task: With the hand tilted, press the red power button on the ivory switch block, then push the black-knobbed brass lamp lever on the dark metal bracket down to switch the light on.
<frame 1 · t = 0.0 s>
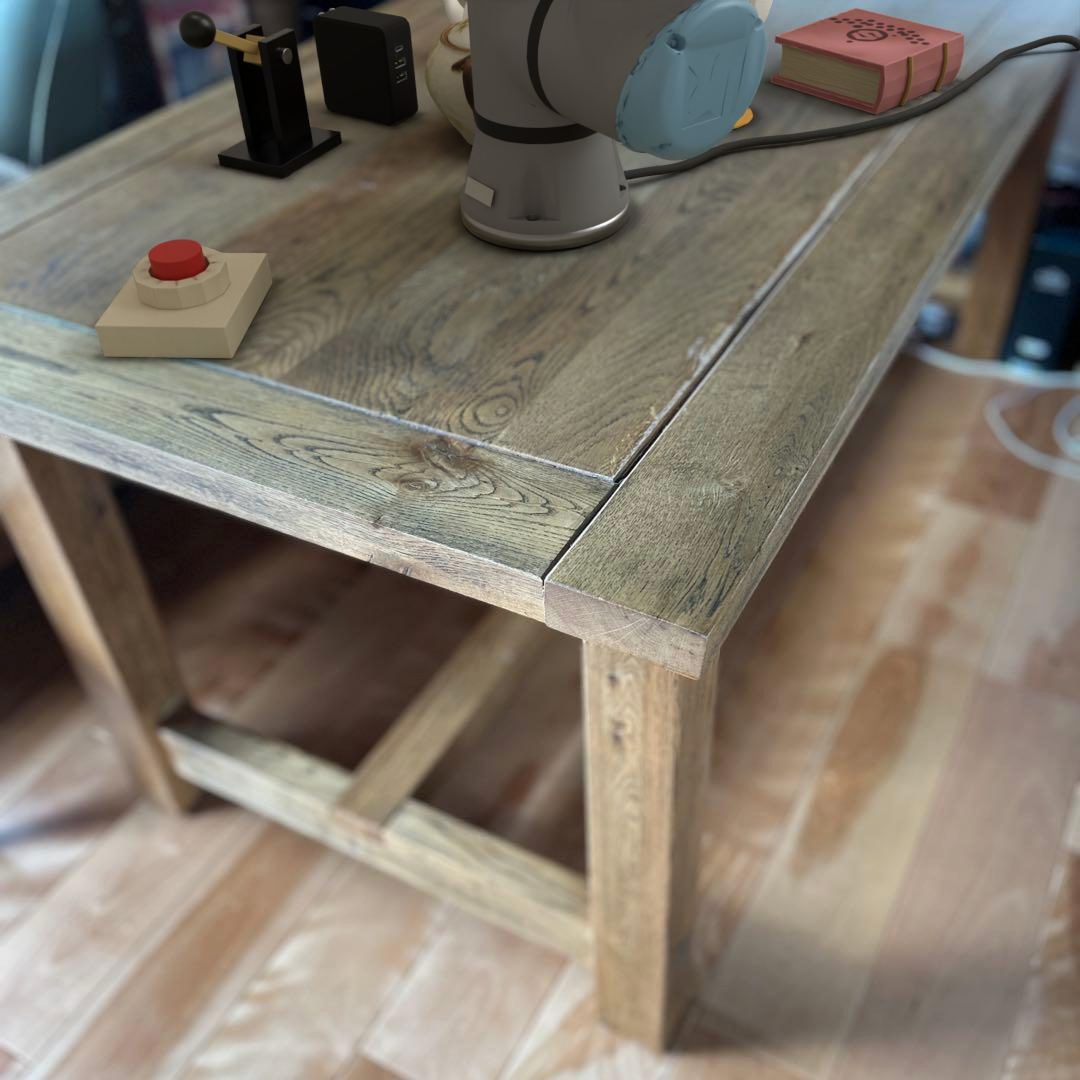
power block: (192, 318, 88), on the table
sugar bowl: (502, 137, 116), on the table
electronic device: (372, 114, 122), on the table
teapot: (513, 61, 134), on the table
power button: (177, 261, 85), point 5 cm above the table, slide at 0.1 cm
book: (864, 84, 125), on the table
lamp switch: (281, 154, 114), on the table
lamp lever: (230, 41, 103), point 12 cm above the table, hinge at 28.0°
cup: (709, 117, 118), on the table
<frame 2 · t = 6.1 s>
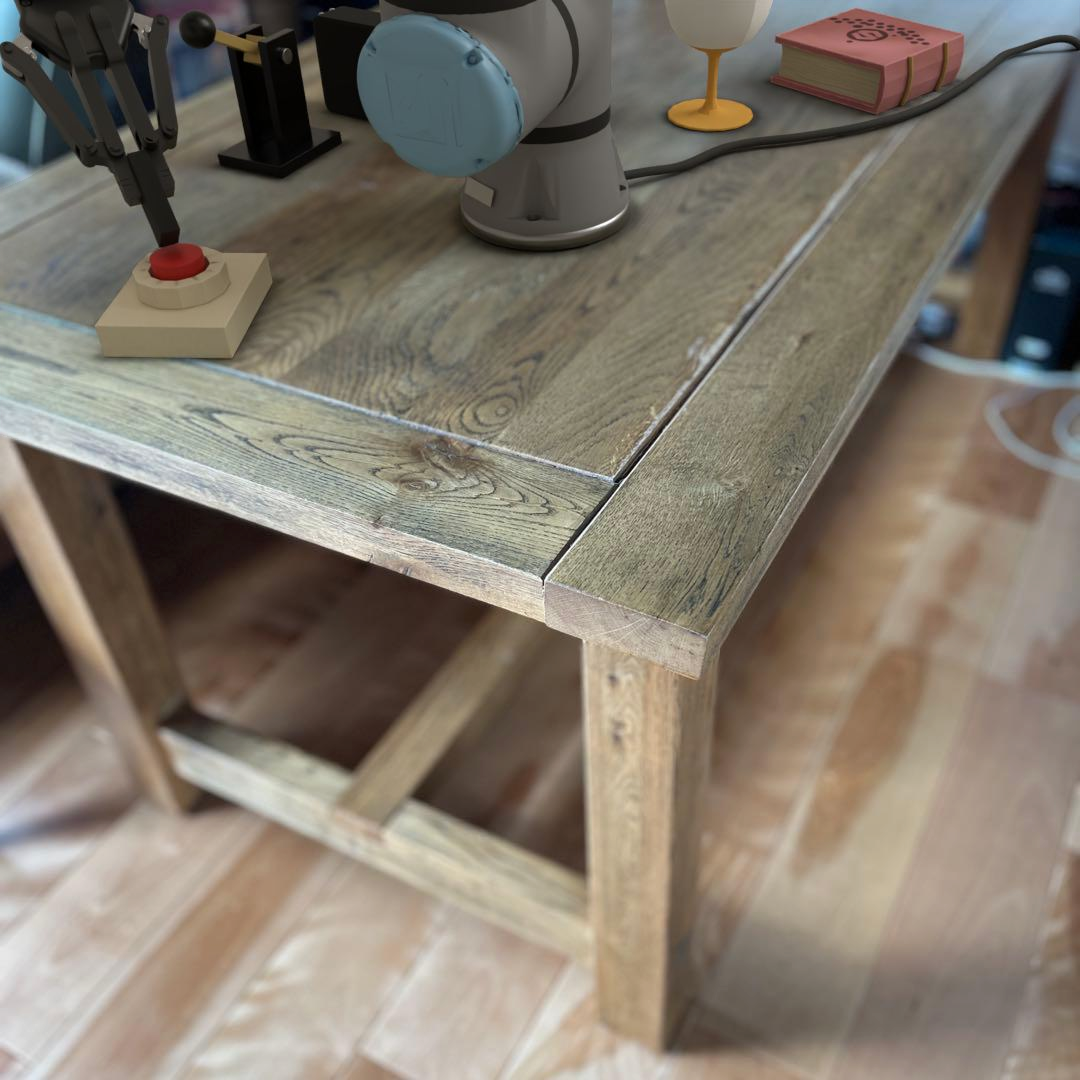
hand: (169, 238, 84), 7 cm above the table, tool tilted 45°, fingers closed
power button: (178, 265, 85), point 5 cm above the table, slide at -0.3 cm, touching gripper
everything else where it was.
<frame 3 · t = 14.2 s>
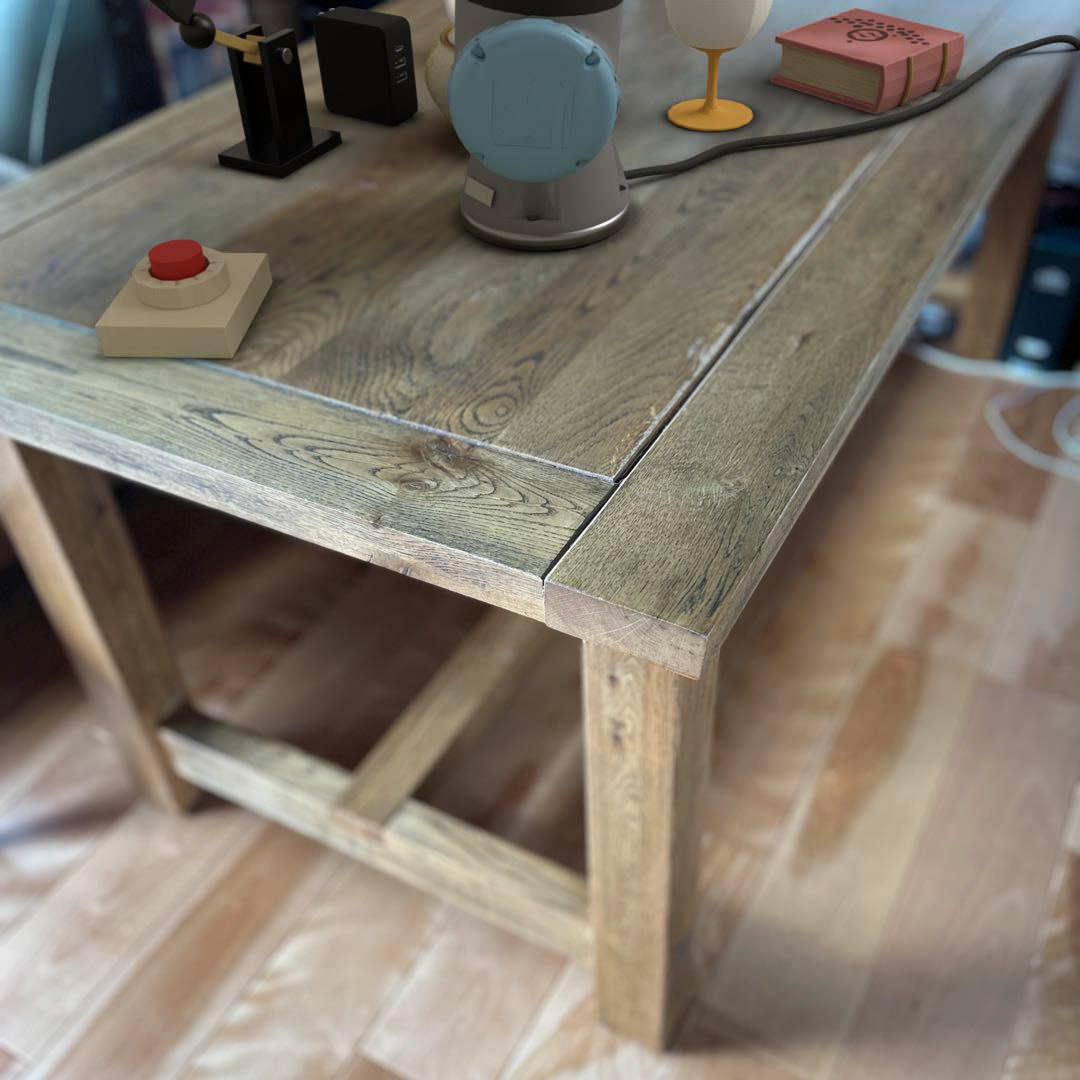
hand: (186, 8, 97), 16 cm above the table, tool tilted 45°, fingers closed
power button: (177, 261, 85), point 5 cm above the table, slide at 0.1 cm
lamp lever: (230, 41, 103), point 12 cm above the table, hinge at 27.7°, touching gripper
everything else where it was.
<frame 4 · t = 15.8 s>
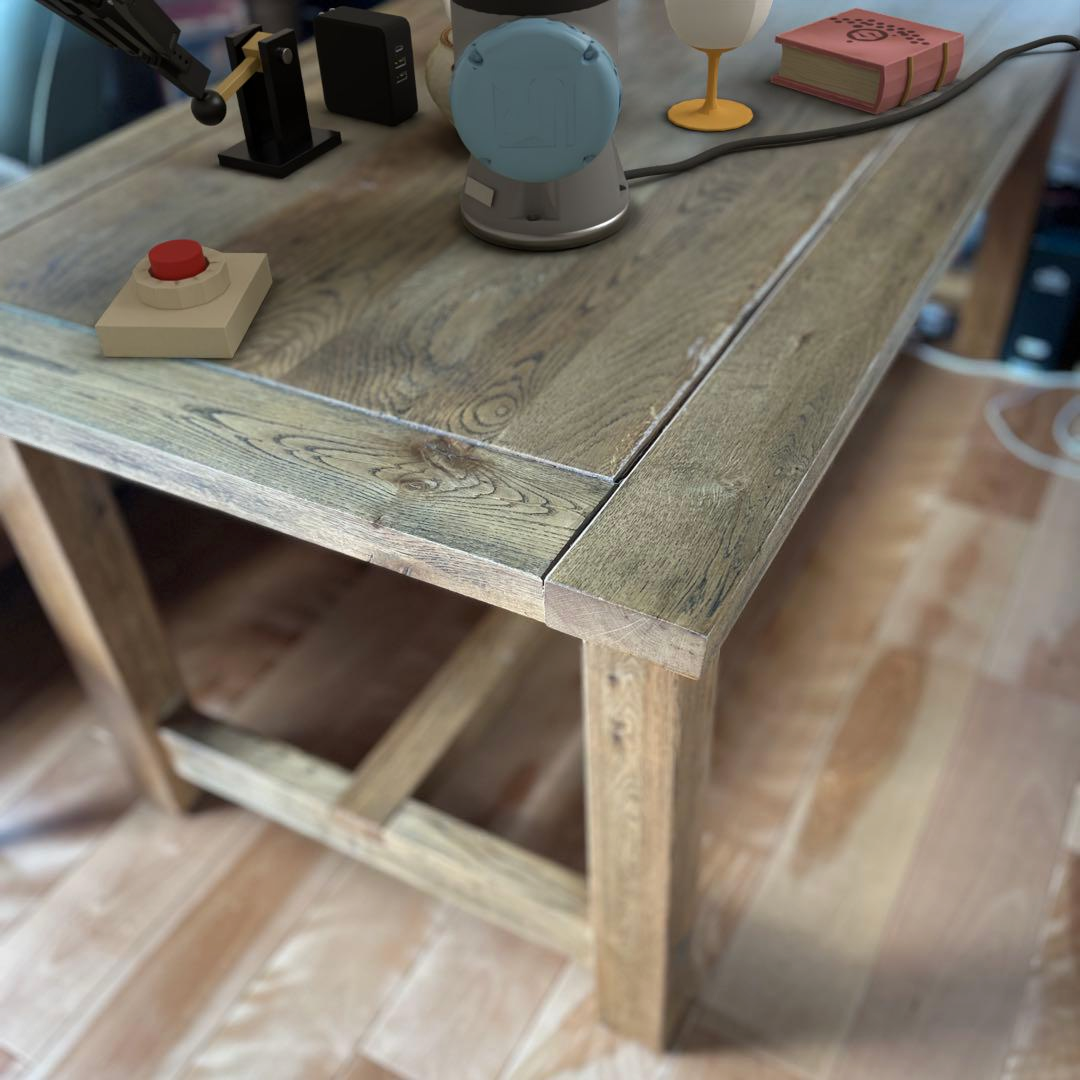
hand: (199, 83, 101), 10 cm above the table, tool tilted 45°, fingers closed
lamp lever: (235, 80, 105), point 9 cm above the table, hinge at -15.8°, touching gripper
everything else where it was.
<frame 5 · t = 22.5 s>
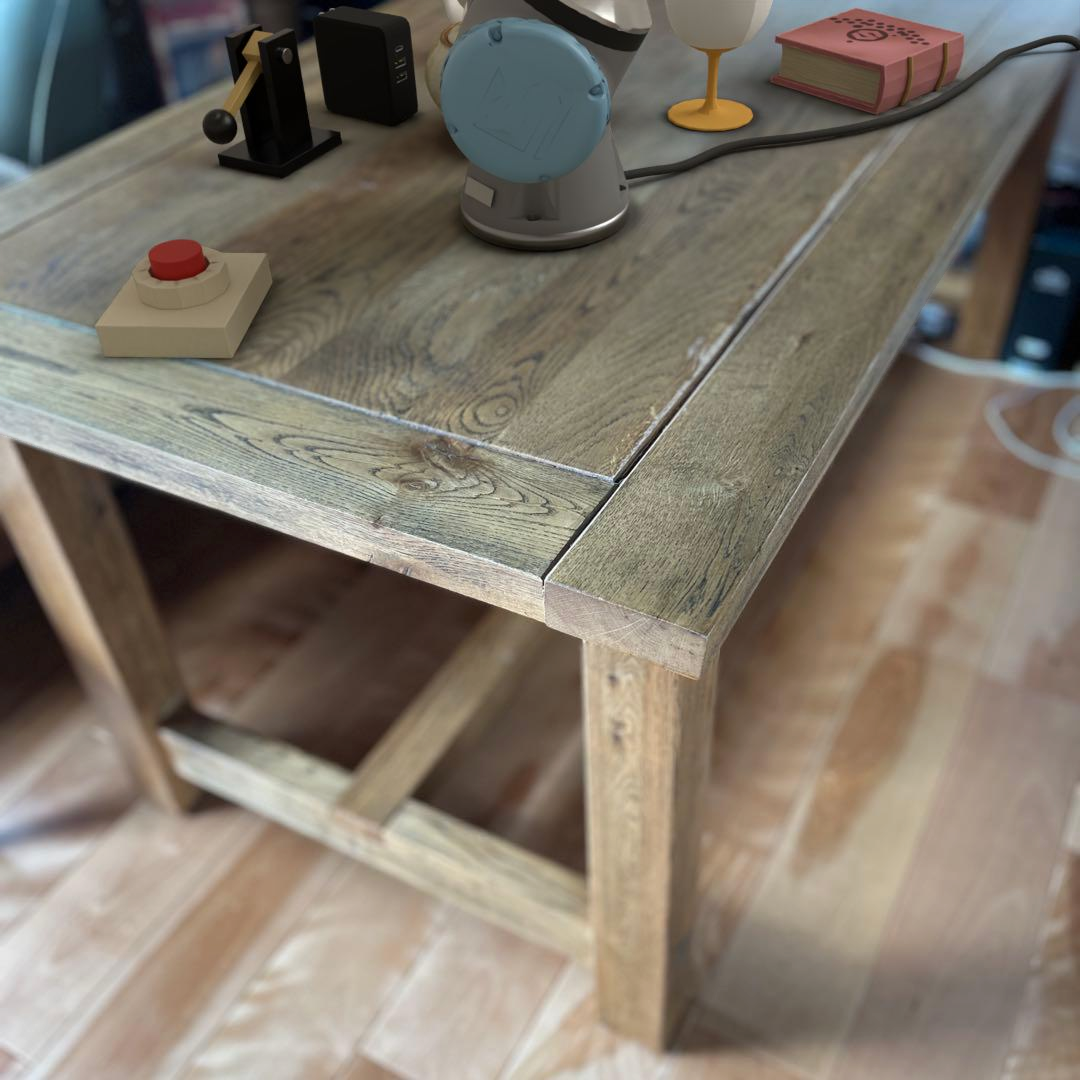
lamp lever: (241, 90, 106), point 8 cm above the table, hinge at -30.1°
everything else where it was.
at the end: power button pushed in 1.3 cm at the most during the clip, back to where it started at the end; power button slide at 0.1 cm; lamp lever at -30° (first picture: +28°) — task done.
